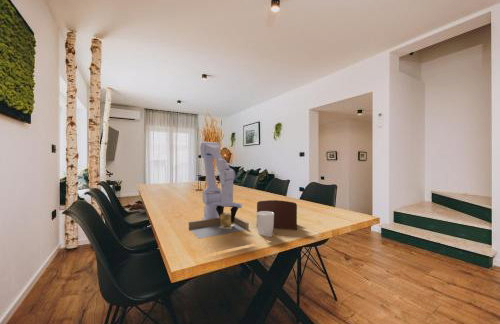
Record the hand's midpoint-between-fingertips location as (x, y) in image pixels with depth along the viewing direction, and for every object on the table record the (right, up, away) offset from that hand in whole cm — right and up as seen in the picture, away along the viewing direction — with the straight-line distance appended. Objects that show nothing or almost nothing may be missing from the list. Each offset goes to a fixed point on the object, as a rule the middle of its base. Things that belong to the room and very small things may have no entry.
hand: (227, 221), depth 106 cm
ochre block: (0, -1, 0) cm, 1 cm away
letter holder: (+25, -4, +5) cm, 26 cm away
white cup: (+18, -4, -9) cm, 21 cm away
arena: (-4, -3, -3) cm, 6 cm away
